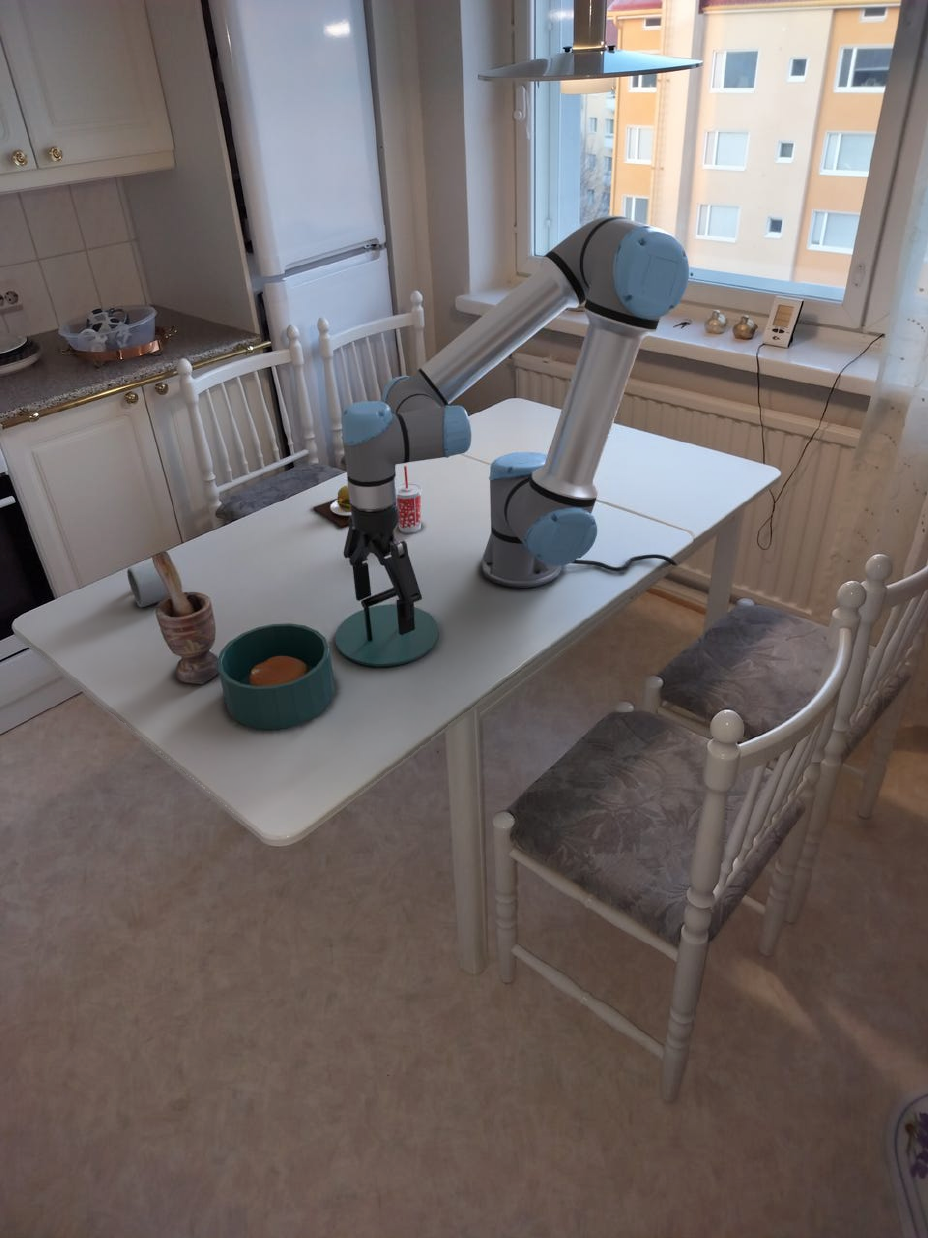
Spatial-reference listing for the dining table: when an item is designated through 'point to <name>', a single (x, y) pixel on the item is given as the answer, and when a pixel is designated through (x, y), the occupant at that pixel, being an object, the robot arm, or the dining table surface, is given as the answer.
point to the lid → (384, 634)
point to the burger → (277, 671)
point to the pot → (282, 700)
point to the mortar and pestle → (186, 625)
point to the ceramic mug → (148, 584)
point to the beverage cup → (409, 505)
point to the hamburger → (337, 508)
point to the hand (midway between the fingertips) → (384, 614)
